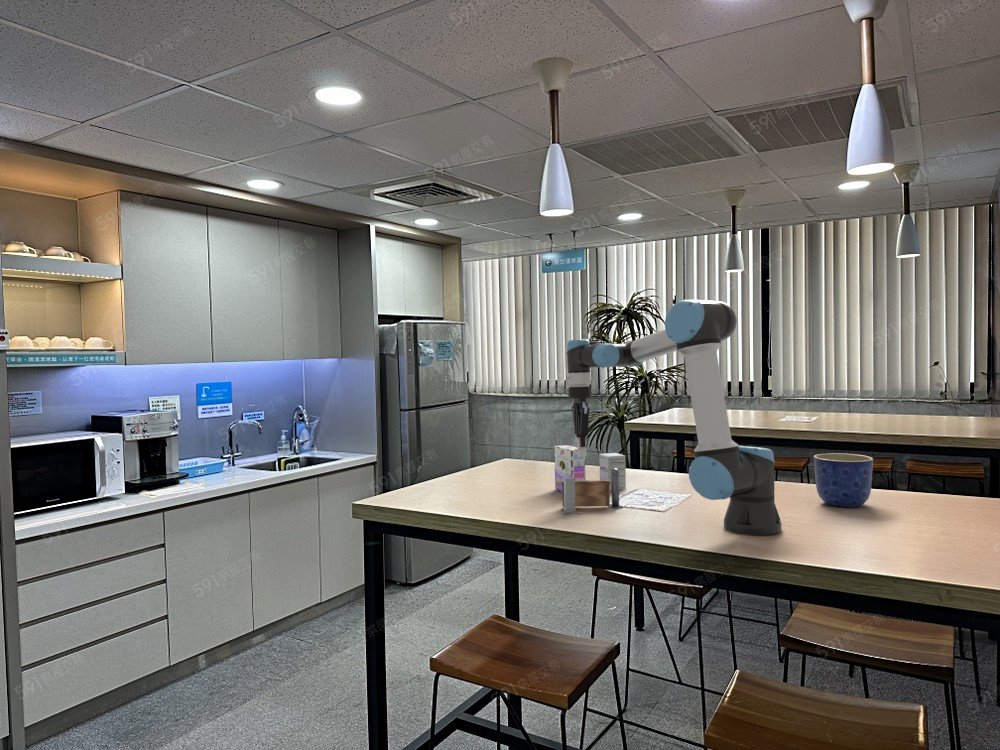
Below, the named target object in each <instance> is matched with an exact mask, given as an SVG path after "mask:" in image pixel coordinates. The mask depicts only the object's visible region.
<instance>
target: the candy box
mask: <svg viewBox="0 0 1000 750" xmlns="http://www.w3.org/2000/svg"><path fill="white" fill-rule="evenodd" d="M553 449H554V450H553V451H554V455H553V457H554V484H555V487H554V489H556V490H555V491H557V490H558V492H560V493H563V489H562V481H564V480H563V477H574V478H576V481H587V480H586V457H578V452H577V446H573V445H568V444H565V445H564V444H563V445H554V446H553Z"/></svg>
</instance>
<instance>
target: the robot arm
mask: <svg viewBox="0 0 1000 750" xmlns="http://www.w3.org/2000/svg"><path fill="white" fill-rule="evenodd" d="M737 323H738V322H737V315H736V312H735V311H734V309H733V308H732V307H731V306H730V305H729V304H727V303H726V302H724V301H720V300H706V299H695V298H691V299H681V300H679V301H677V302H675V303H674V304H673V305H672V306H671V307H670V308H669V310H668V312H667V313H666V316H665V319H664V328H663V329H661V330H660V331H657V332H653V333H651V334H648V335H646V336H643V337H640V338H638V339H635V340H633V341H630V342H626V343H608V342H607V343H606V342H604V343H603V342H602V343H597V344H596V343H595V344H590V340H589V339H584V338H583V339H570V340H568V342H566V344H567V345H566V360H567V361H566V363H567V376H566V380H568V386H569V387H568V398H570V399H573V403H572V404H573V405H572V406H571V411H572V418H573V419H572V420H573V427H574V434H575V436H576V443H577V444H576V447H577V452H578V457H585V458H586V457H587V456H588V455H587V452H588V451H587V436H589V421H590V420H589V419H590V417H589V415H590V410H591V409H590V407H589V405H588V402H587V398H591V397H592V387H591V386H590V385H592V374H591V368H603V369H604V368H616V367H617V368H618V367H633V368H634V367H637V366H641V365H642V364H644V362H646V361H649V360H653V359H655V358H659V357H661V356H665V355H668V354H671V353H674V352H677V353H678V354H680V355H681V356H683V357H684V358H683V359H684V364H685V368H686V369H685V370H686V375H687V376H686V377H687V382H688V386H689V387H688V388H689V393H690V394H689V395H690V400H691V406H692V413H693V418H694V423H695V430H696V435H697V443H698V444H697V445H696V447H695V448H694V449H693V453H694V459H693V461H692V462H691V464H690V466H689V468H688V478H689V482H690V484H691V487H692V488H693V489H694V491H695V492H696V493H698V494H699V495H700V496H701V497H702V498H704V499H707V500H709V501H716V500H717V501H718V500H727V499H729V502H728V505H727V509H726V512H725V514H724V515H725V516H723V517H724V518H723V528H724V529H725V530H726V531H729V532H730V533H731V532H732V533H735V534H741V535H747V536H748V535H749V536H773V535H777V534H780V533H781V532H782V526H783V525H782V523H783V522H782V520H781V518H780V515H779V512H778V509H777V506H776V504H775V465H776V463H775V455H774V452H773V450H772V449H770V448H765V447H760V446H759V447H758V446H757V447H756V446H746V445H745V446H744V445H739V444H738V443H737V442H735V441H734V440H733V439H732V434H731V429H730V423H729V417H728V411H727V405H726V400H725V393H724V388H723V382H722V377H721V370H720V369H721V368H720V364H719V358H718V352H717V351H718V350H719V349H720V347H721V346H722V342H723V341H725V340H727V339H729V338H730V337H731V336H732V335H733V333H734V332H735V330H736V328H737Z"/></svg>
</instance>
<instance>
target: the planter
mask: <svg viewBox="0 0 1000 750" xmlns="http://www.w3.org/2000/svg"><path fill="white" fill-rule="evenodd" d="M813 465H814V477H815V488H816V491H817V492H816V493H817V494H818V497H819V498H820V499H821V501H823V502H824V503H826V504H827V505H830V506H833V505H834V506H833V507H838V506H841V507H840V508H857V507H860V506H863V505H864V504H866V502H868V500H869V498H870V496H871V492H872V480H873V471H874V470H873V468H874V457H871V456H868V455H863V454H855V453H839V452H838V453H835V452H832V453H820V454H819V453H818V454H815V455H813ZM856 506H857V507H856Z"/></svg>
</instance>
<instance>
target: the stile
mask: <svg viewBox="0 0 1000 750" xmlns="http://www.w3.org/2000/svg"><path fill="white" fill-rule="evenodd" d="M563 480H564V507H563V509H561V512H562V513H563V514H565V515H570V514H571V515H572V514H579V511H578V510H577V508H576V507H575V481H576V478H574V477H563Z"/></svg>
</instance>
